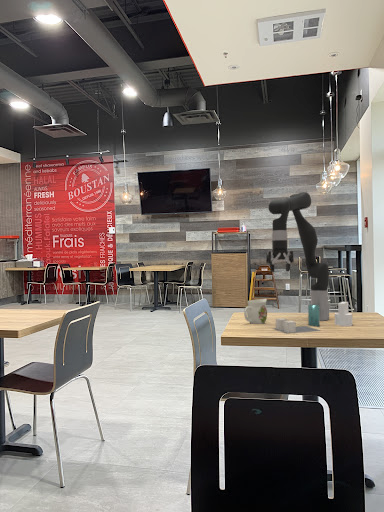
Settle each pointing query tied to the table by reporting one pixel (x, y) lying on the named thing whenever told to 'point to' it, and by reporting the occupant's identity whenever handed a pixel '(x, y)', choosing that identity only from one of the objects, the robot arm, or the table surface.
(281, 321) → the cream cube
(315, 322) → the teal glass cylinder
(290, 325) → the cream cube
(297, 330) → the slate board
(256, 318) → the pitcher
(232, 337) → the table surface
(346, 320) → the base with upright slab
